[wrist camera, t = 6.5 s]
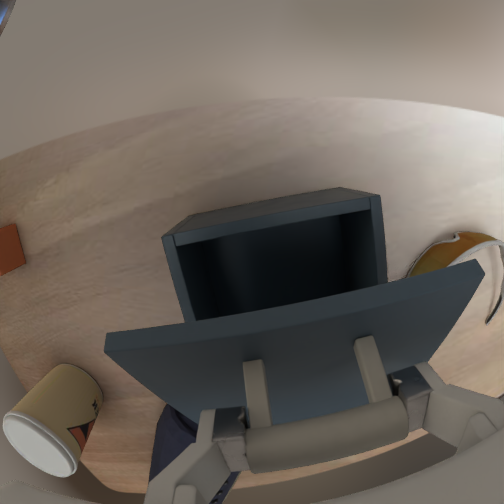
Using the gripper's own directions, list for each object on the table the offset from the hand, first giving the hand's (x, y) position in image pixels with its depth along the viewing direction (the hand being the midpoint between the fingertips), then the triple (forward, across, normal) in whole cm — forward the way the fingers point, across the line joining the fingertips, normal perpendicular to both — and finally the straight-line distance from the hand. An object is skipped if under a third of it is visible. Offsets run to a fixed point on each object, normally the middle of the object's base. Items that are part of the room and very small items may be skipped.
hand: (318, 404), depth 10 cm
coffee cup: (+19, +27, +12) cm, 35 cm away
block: (+19, +29, -7) cm, 35 cm away
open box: (+19, 0, +3) cm, 19 cm away
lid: (+5, 0, +4) cm, 6 cm away
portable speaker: (+19, +14, +23) cm, 33 cm away
